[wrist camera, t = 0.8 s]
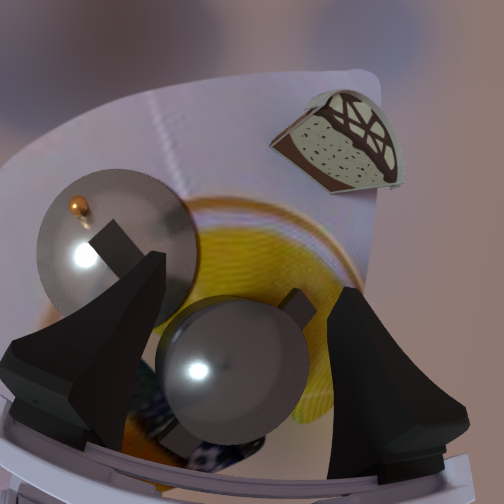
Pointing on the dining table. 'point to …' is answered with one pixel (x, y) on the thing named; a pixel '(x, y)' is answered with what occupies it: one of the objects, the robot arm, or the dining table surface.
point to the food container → (343, 144)
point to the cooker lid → (113, 238)
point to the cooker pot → (232, 369)
